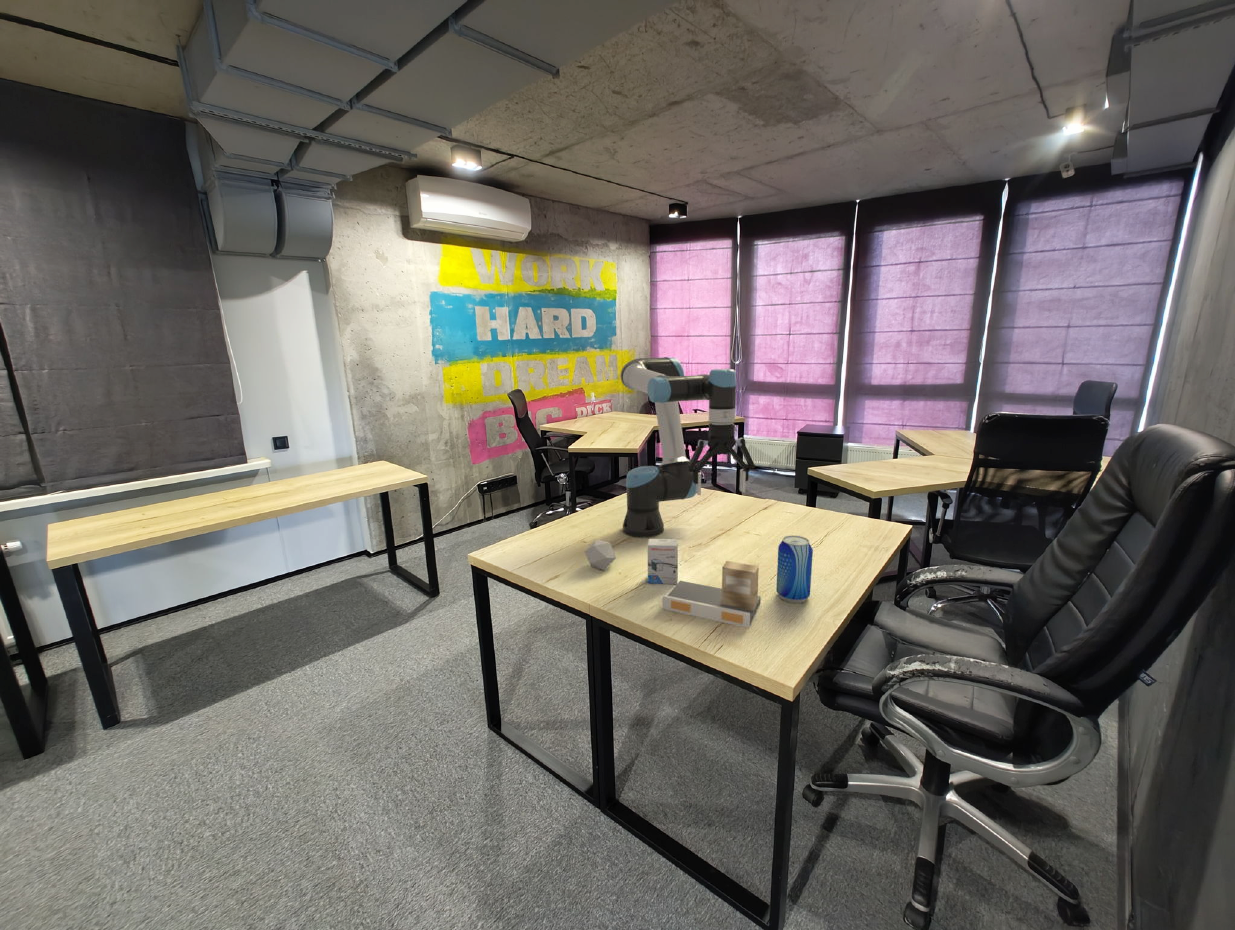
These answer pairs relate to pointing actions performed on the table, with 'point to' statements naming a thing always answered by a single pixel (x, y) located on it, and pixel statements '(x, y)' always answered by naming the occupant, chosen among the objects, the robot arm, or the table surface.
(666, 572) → the ink box
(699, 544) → the table surface
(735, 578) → the brown cardboard box
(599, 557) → the die
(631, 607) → the table surface
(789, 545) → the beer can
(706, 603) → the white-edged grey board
